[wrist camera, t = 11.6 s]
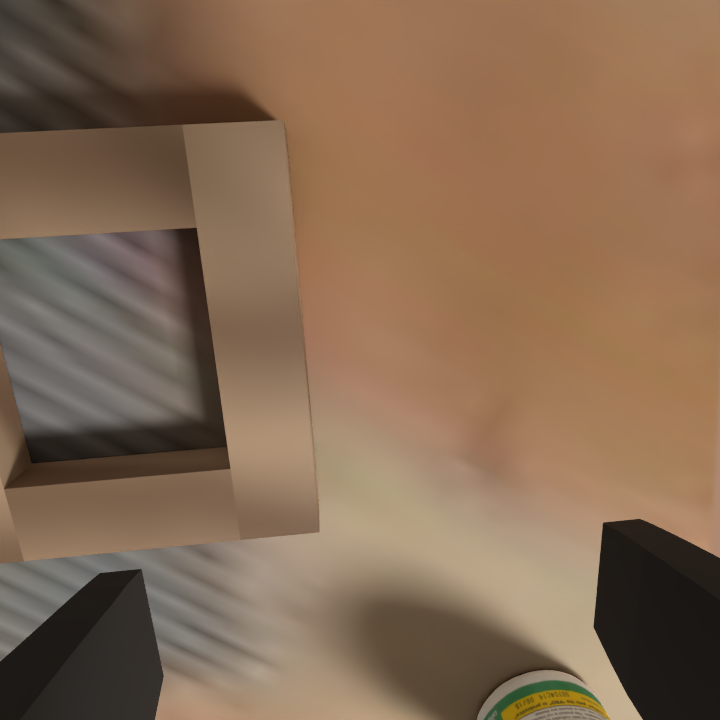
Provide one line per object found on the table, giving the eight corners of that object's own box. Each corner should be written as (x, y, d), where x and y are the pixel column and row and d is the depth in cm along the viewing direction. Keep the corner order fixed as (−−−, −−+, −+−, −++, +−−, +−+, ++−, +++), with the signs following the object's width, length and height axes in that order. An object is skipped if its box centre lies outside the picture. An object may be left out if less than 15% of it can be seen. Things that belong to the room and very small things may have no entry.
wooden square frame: (318, 504, 18) (319, 532, 17) (-29, 537, 18) (-61, 569, 16) (285, 128, 15) (282, 119, 13) (-150, 149, 14) (-206, 142, 12)
